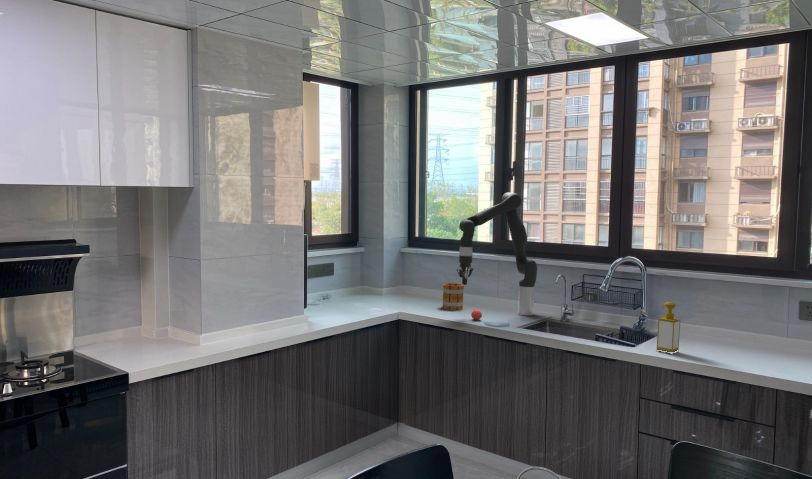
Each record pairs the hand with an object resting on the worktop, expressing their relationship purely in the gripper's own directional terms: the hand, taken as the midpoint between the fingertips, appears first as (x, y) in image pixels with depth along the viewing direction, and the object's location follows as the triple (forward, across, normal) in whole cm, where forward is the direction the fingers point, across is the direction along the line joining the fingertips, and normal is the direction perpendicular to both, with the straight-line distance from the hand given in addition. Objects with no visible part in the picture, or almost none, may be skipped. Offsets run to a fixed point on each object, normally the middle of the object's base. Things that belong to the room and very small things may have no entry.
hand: (464, 284), depth 350 cm
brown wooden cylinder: (+19, +20, +24) cm, 37 cm away
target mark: (+19, 0, -24) cm, 30 cm away
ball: (+16, 0, -10) cm, 19 cm away
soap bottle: (+19, +10, -112) cm, 114 cm away
